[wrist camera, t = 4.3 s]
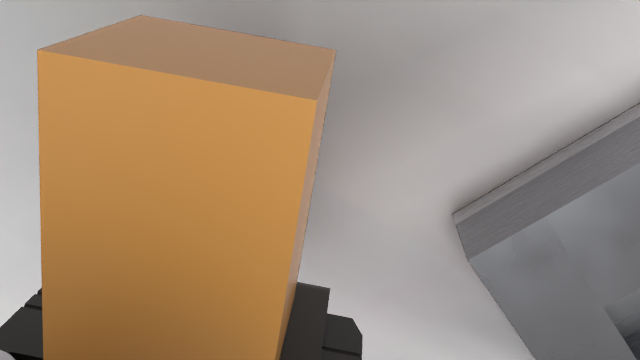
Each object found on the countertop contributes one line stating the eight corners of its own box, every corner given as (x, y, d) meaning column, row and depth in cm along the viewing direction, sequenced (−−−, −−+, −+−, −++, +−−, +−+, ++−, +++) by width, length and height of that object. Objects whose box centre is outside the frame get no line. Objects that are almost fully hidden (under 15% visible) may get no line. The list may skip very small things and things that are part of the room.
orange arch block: (209, -9, 13) (37, 49, 6) (349, 16, 13) (317, 100, 6) (174, 394, 17) (49, 675, 11) (279, 415, 17) (217, 709, 11)
